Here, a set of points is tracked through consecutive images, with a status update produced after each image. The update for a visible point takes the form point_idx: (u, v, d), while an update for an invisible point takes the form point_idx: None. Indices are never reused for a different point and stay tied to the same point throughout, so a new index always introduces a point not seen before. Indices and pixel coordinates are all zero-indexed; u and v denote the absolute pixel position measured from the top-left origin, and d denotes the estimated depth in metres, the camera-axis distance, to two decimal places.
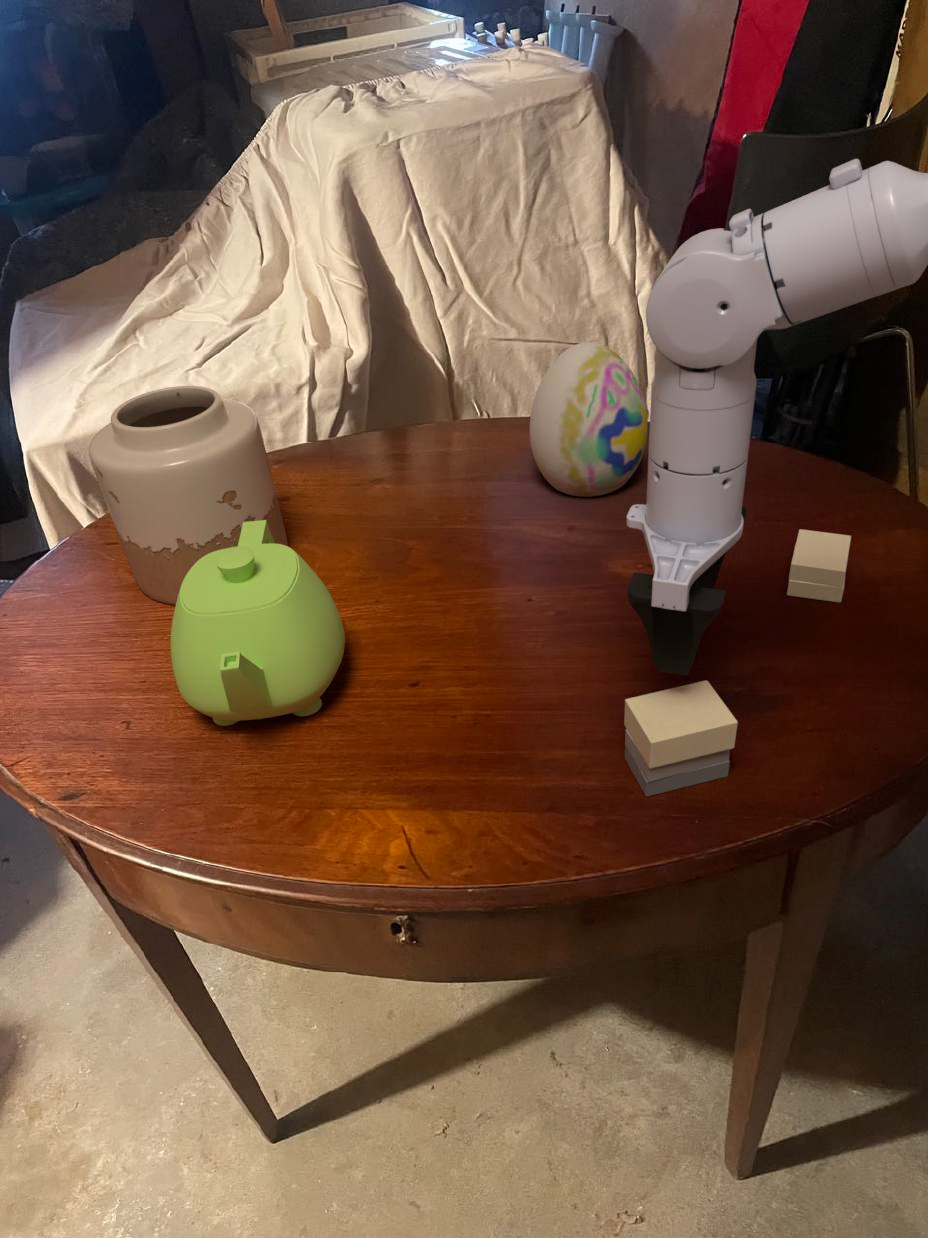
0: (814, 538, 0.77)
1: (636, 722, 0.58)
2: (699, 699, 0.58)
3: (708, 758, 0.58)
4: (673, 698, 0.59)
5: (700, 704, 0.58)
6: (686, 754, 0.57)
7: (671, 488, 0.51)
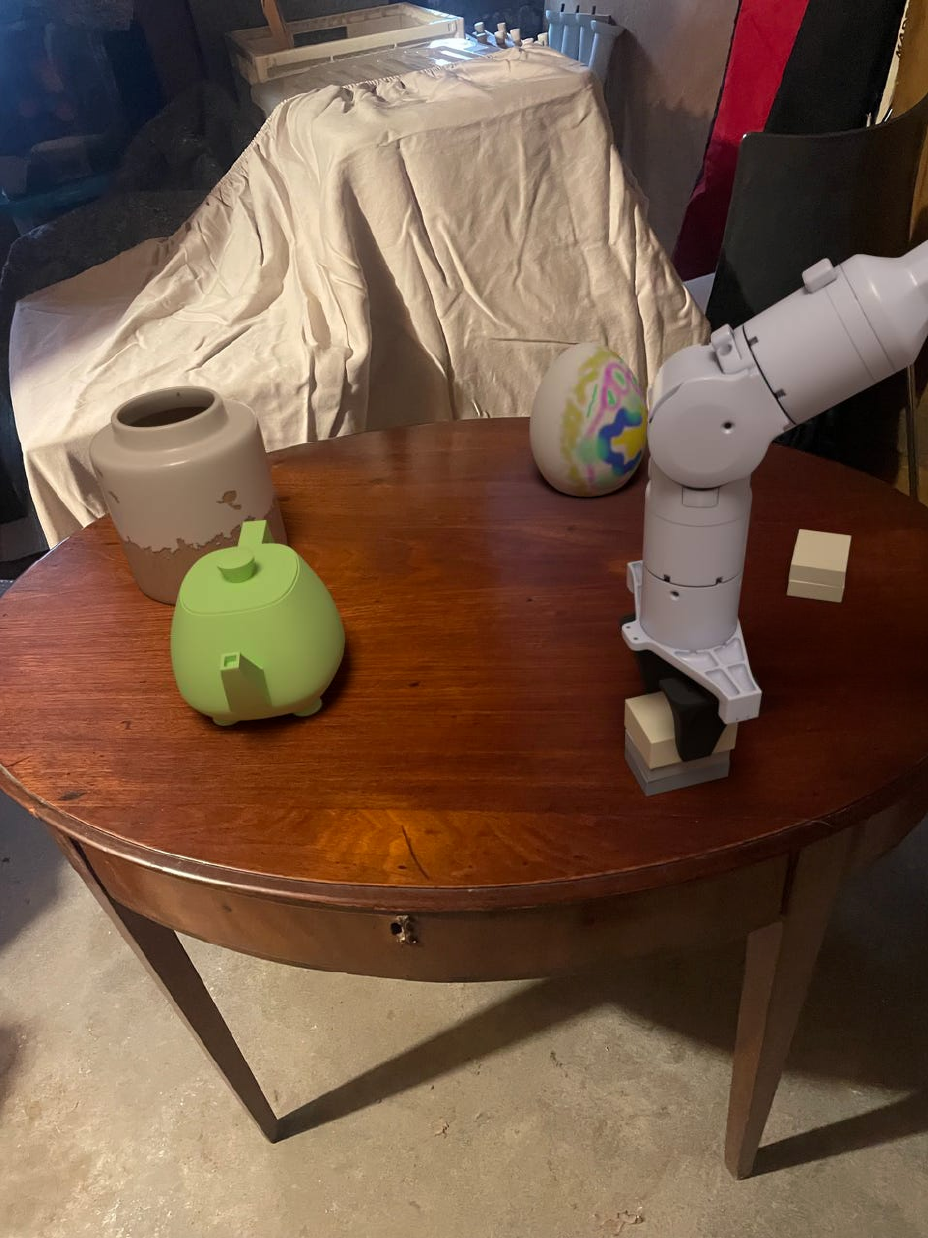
0: (814, 538, 0.77)
1: (637, 722, 0.58)
2: None
3: (708, 758, 0.58)
4: None
5: None
6: None
7: (695, 602, 0.49)
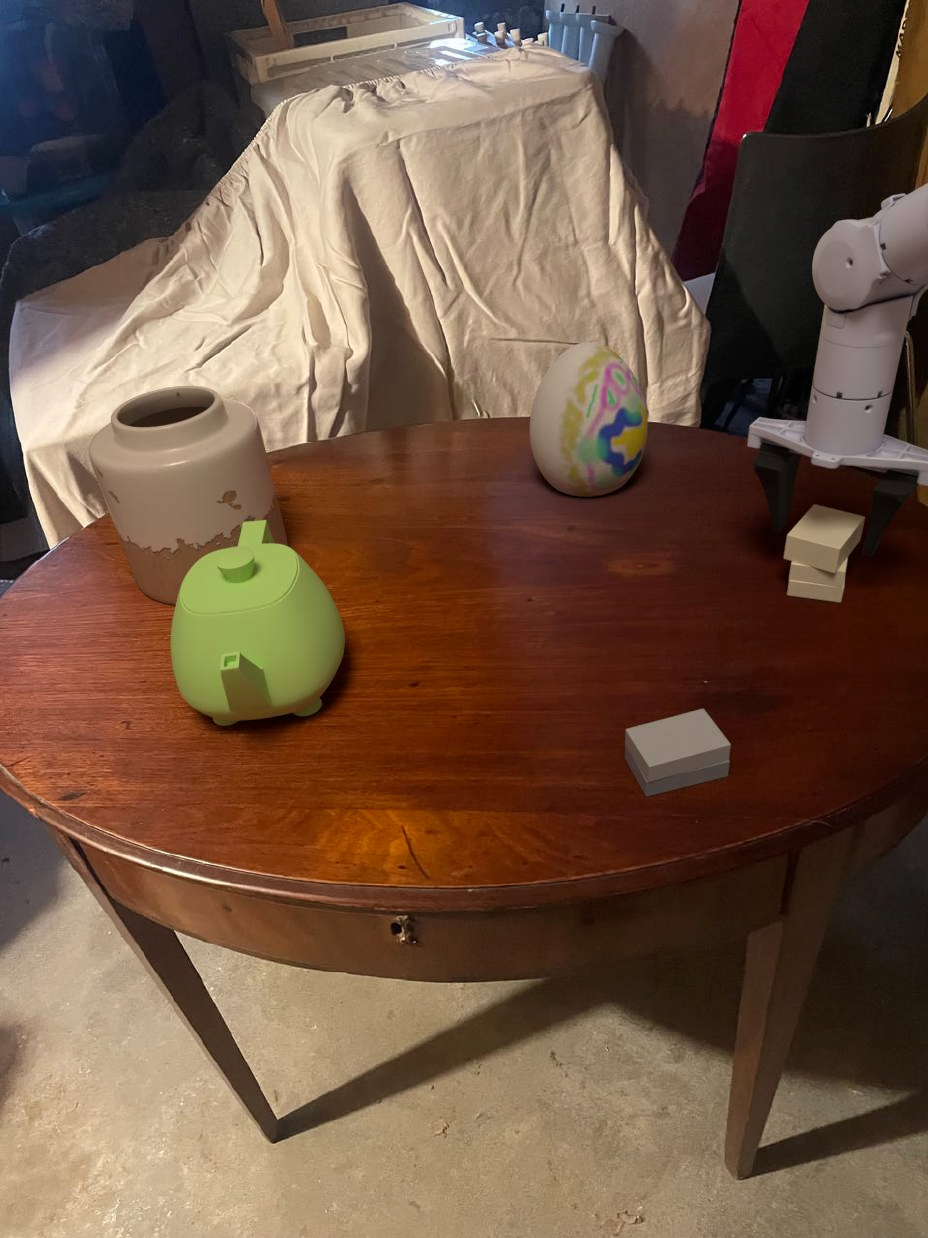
0: None
1: (811, 543, 0.72)
2: (827, 515, 0.75)
3: (708, 758, 0.58)
4: (812, 521, 0.74)
5: (832, 517, 0.75)
6: (847, 553, 0.73)
7: (880, 409, 0.65)
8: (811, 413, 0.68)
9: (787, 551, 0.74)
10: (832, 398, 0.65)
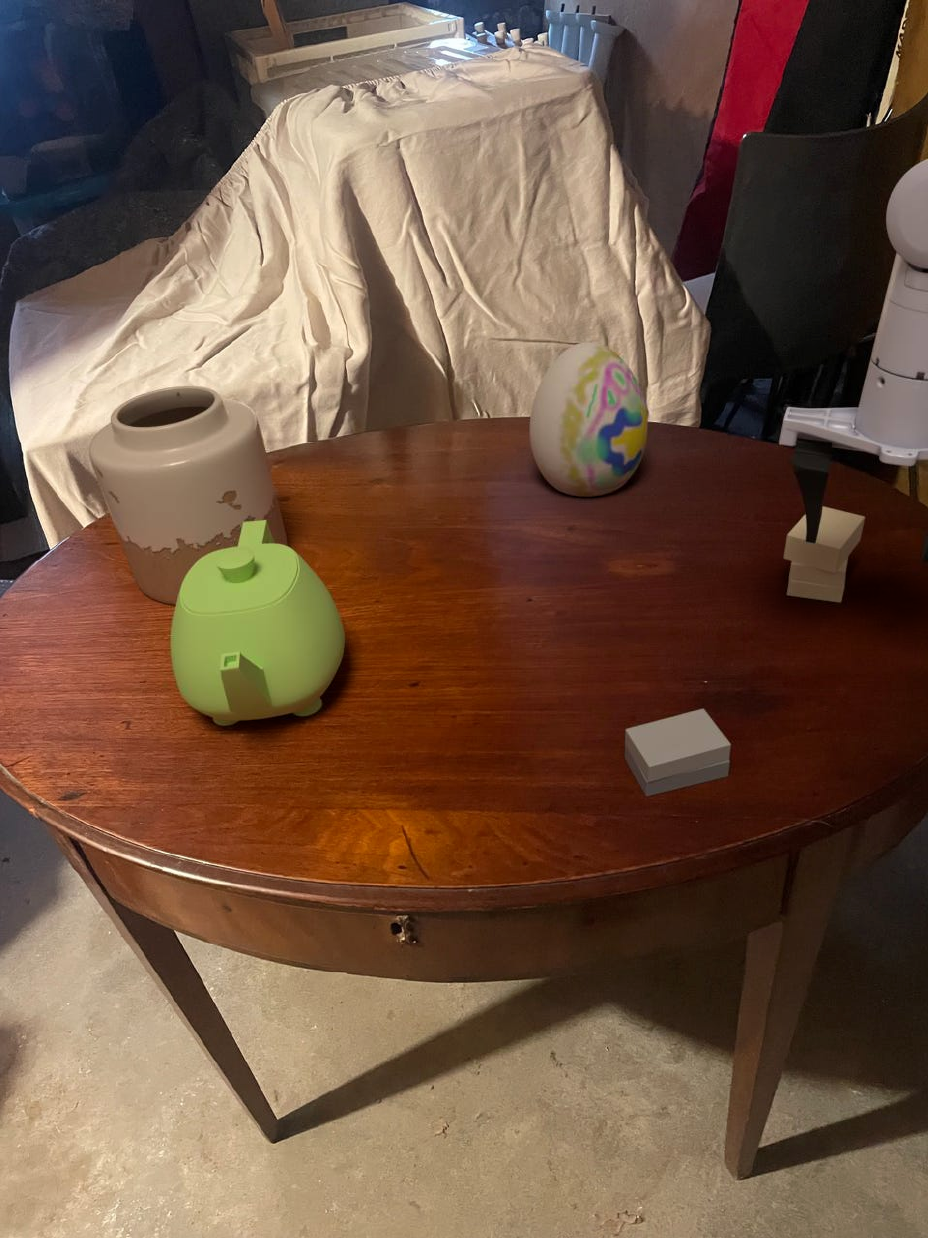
0: None
1: (811, 543, 0.72)
2: (827, 515, 0.75)
3: (708, 758, 0.58)
4: None
5: (832, 517, 0.75)
6: (847, 553, 0.73)
7: None
8: (875, 399, 0.54)
9: (787, 551, 0.74)
10: (910, 380, 0.52)
